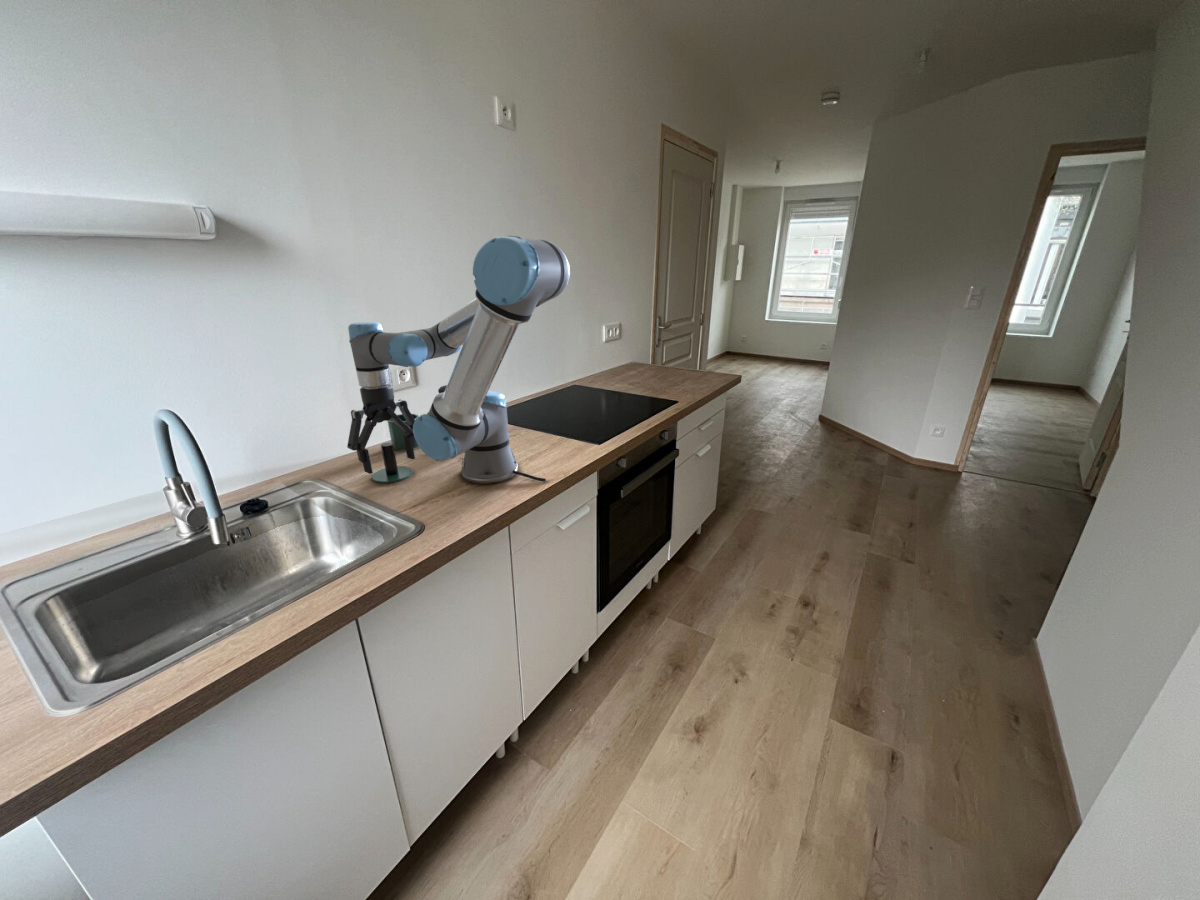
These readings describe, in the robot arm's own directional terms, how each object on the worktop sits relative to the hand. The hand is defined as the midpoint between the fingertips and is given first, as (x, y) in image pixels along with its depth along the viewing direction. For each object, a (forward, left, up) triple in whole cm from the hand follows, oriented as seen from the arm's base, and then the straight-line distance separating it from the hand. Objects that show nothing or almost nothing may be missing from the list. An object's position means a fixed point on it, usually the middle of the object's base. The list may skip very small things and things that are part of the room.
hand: (390, 465), depth 122 cm
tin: (+19, -16, -4) cm, 25 cm away
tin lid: (0, 0, -3) cm, 3 cm away
